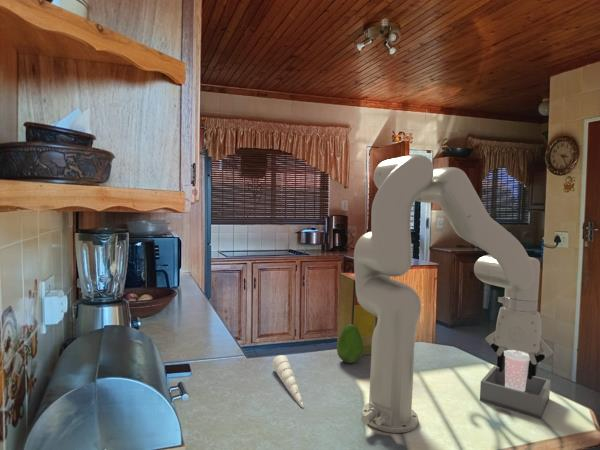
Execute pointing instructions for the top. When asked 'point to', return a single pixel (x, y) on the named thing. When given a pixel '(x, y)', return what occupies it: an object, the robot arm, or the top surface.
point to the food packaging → (354, 312)
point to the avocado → (349, 344)
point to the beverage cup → (516, 369)
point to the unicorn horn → (287, 377)
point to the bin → (515, 393)
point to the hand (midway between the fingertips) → (515, 373)
